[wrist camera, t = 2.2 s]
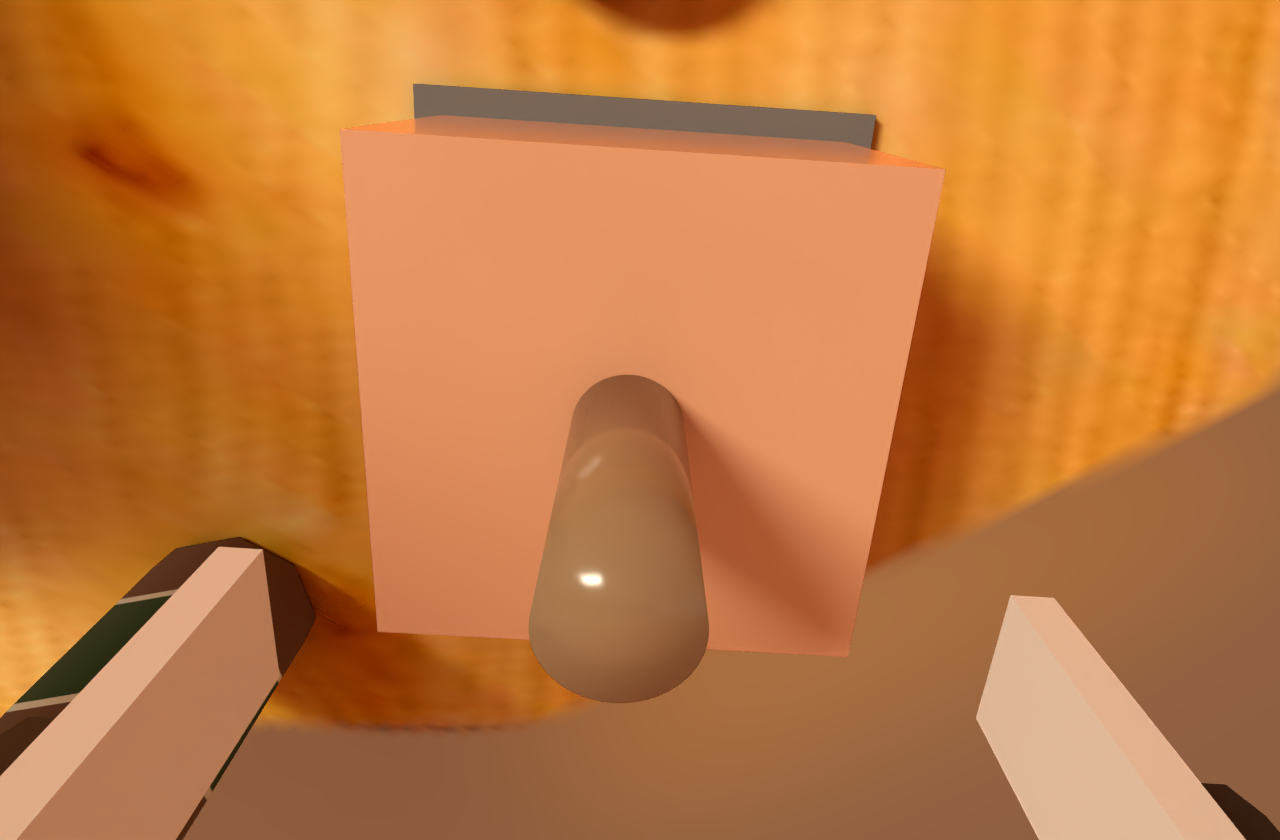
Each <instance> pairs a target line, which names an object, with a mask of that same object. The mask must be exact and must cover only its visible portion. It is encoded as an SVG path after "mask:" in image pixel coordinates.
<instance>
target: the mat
mask: <svg viewBox="0 0 1280 840" xmlns="http://www.w3.org/2000/svg"><path fill="white" fill-rule="evenodd" d="M413 92H414V116H415V119H416V118H423V117H430V116H437V115H450V116H465V117H480V118H495V119H510V120H525V121H540V122H555V123H570V124H584V125H599V126H614V127H629V128H644V129H659V130H674V131H689V132H703V133H718V134H733V135H748V136H763V137H778V138H793V139H808V140H823V141H837V142H847V143H850V144H854V145H858V146H861V147H865V148H869V149H871V144H872V138H873V132H874V126H875V119H876V115H868V114H854V113H839V112H824V111H810V110H795V109H780V108H765V107H751V106H736V105H721V104H707V103H692V102H677V101H662V100H648V99H633V98H618V97H604V96H589V95H574V94H559V93H545V92H530V91H515V90H501V89H486V88H471V87H456V86H442V85H427V84H413Z"/></svg>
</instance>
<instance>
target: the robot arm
mask: <svg viewBox="0 0 1280 840" xmlns="http://www.w3.org/2000/svg"><path fill="white" fill-rule="evenodd" d="M279 677H280V676H279V668H278V661H277V653H276V646H275V638H274V631H273V623H272V615H271V608H270V600H269V593H268V585H267V578H266V570H265V563H264V555H263V549H247V548H231V547H218V548H217V549H216V550H215V551H214V552H213V553H212V554H211V555H210V556H209V557H208V558H207V560H206V561H205V562H204V563H203V564H202V565H201V566H200V567H199V568H198V569H197V570H196V571H195V572H194V573H193V574H192V575H191V576H190V577H189V578H188V579H187V581H186V582H185V583H184V584H183V585H182V586H181V587H180V588H179V589H178V590H177V591H176V592H175V593H174V594H173V595H172V596H171V597H170V598H169V599H168V600H167V602H166V603H165V604H164V605H163V606H162V607H161V608H160V609H159V610H158V611H157V612H156V613H155V614H154V615H153V616H152V617H151V618H150V619H149V620H148V621H147V623H146V624H145V625H144V626H143V627H142V628H141V629H140V630H139V631H138V632H137V633H136V634H135V635H134V636H133V637H132V638H131V639H130V640H129V641H128V642H127V644H126V645H125V646H124V647H123V648H122V649H121V650H120V651H119V652H118V653H117V654H116V655H115V656H114V657H113V658H112V659H111V660H110V661H109V662H108V663H107V665H106V666H105V667H104V668H103V669H102V670H101V671H100V672H99V673H98V674H97V675H96V676H95V677H94V678H93V679H92V680H91V681H90V682H89V683H88V685H87V686H86V687H85V688H84V689H83V690H82V691H81V692H80V693H79V694H78V695H77V696H76V697H75V698H74V699H73V700H72V701H71V702H70V703H69V704H68V706H67V707H66V708H65V709H64V710H63V711H62V712H61V713H60V714H59V715H58V716H57V717H56V718H46V717H28V718H26V719H24V720H23V721H21V722H20V723H18V724H16V725H15V726H13V727H11V728H10V729H8V730H7V731H5V732H3V733H2V734H0V840H176V839H177V837H178V835H179V834H180V832H181V831H182V829H183V828H184V826H185V824H186V823H187V821H188V820H189V818H190V817H191V815H192V813H193V812H194V810H195V809H196V807H197V806H198V804H199V802H200V801H201V799H202V798H203V796H204V795H205V793H206V791H207V790H208V788H209V787H210V785H211V784H212V782H213V780H214V779H215V777H216V776H217V774H218V773H219V771H220V769H221V768H222V766H223V765H224V763H225V762H226V760H227V758H228V757H229V755H230V754H231V752H232V751H233V749H234V747H235V746H236V744H237V743H238V741H239V740H240V738H241V736H242V735H243V733H244V732H245V730H246V729H247V727H248V725H249V724H250V722H251V721H252V719H253V718H254V716H255V714H256V713H257V711H258V710H259V708H260V707H261V705H262V703H263V702H264V700H265V699H266V697H267V696H268V694H269V692H270V691H271V689H272V688H273V686H274V685H275V683H276V681H277V680H278V678H279ZM976 719H977V721H978V722H979V724H980V727H981V728H982V730H983V732H984V734H985V736H986V738H987V740H988V742H989V744H990V746H991V748H992V749H993V752H994V753H995V756H996V757H997V759H998V761H999V763H1000V765H1001V767H1002V769H1003V771H1004V773H1005V775H1006V777H1007V779H1008V780H1009V782H1010V785H1011V786H1012V788H1013V790H1014V792H1015V794H1016V796H1017V798H1018V800H1019V802H1020V803H1021V806H1022V808H1023V810H1024V812H1025V814H1026V815H1027V817H1028V819H1029V821H1030V823H1031V825H1032V827H1033V829H1034V831H1035V833H1036V835H1037V837H1038V839H1039V840H1280V832H1279V831H1278V830H1277V829H1276V827H1275V826H1274V825H1273V824H1272V823H1271V822H1270V820H1269V819H1268V818H1267V817H1266V816H1265V815H1264V814H1263V813H1261V812H1260V811H1259V810H1258V809H1256V808H1255V807H1254V806H1252V805H1251V804H1250V803H1248V802H1247V801H1246V800H1244V799H1243V798H1242V797H1241V796H1239V795H1238V794H1237V793H1235V792H1234V791H1233V790H1232V789H1230V788H1229V787H1228V786H1227V785H1223V784H1206V783H1200V782H1199V780H1198V779H1197V778H1196V777H1195V775H1194V774H1193V773H1192V771H1191V770H1190V769H1189V768H1188V766H1187V765H1186V764H1185V763H1184V761H1183V760H1182V759H1181V758H1180V756H1179V755H1178V754H1177V753H1176V751H1175V750H1174V749H1173V748H1172V746H1171V745H1170V744H1169V742H1168V741H1167V740H1166V739H1165V737H1164V736H1163V735H1162V734H1161V732H1160V731H1159V730H1158V729H1157V727H1156V726H1155V725H1154V723H1153V722H1152V721H1151V720H1150V718H1149V717H1148V716H1147V715H1146V713H1145V712H1144V711H1143V710H1142V708H1141V707H1140V706H1139V705H1138V703H1137V702H1136V701H1135V700H1134V698H1133V697H1132V696H1131V695H1130V693H1129V692H1128V691H1127V690H1126V688H1125V687H1124V686H1123V684H1122V683H1121V682H1120V681H1119V679H1118V678H1117V677H1116V676H1115V675H1114V673H1113V672H1112V671H1111V669H1110V668H1109V667H1108V666H1107V664H1106V663H1105V662H1104V661H1103V659H1102V658H1101V657H1100V656H1099V654H1098V653H1097V652H1096V650H1095V649H1094V648H1093V647H1092V645H1091V644H1090V643H1089V642H1088V640H1087V639H1086V638H1085V637H1084V636H1083V634H1082V633H1081V632H1080V630H1079V629H1078V628H1077V627H1076V625H1075V624H1074V623H1073V622H1072V620H1071V619H1070V618H1069V617H1068V615H1067V614H1066V613H1065V611H1064V610H1063V609H1062V608H1061V606H1060V605H1059V604H1058V603H1057V601H1056V600H1055V599H1054V598H1046V597H1029V596H1013V595H1011V596H1010V599H1009V603H1008V607H1007V610H1006V614H1005V618H1004V621H1003V624H1002V628H1001V631H1000V635H999V639H998V642H997V646H996V649H995V653H994V656H993V660H992V663H991V667H990V670H989V674H988V678H987V681H986V685H985V688H984V692H983V695H982V699H981V703H980V706H979V709H978V713H977V717H976Z"/></svg>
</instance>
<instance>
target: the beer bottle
mask: <svg viewBox="0 0 1280 840" xmlns="http://www.w3.org/2000/svg"><path fill="white" fill-rule="evenodd" d="M218 547H231V548H247V549H262V548H260V547H258V546H256V545H254V544H252V543H250V542H248V541H246V540H245V539H243V538H241V537H236V538H230V539H225V540H219V541H214V542H208V543H202V544H197V545H191V546H186V547H181V548H176V549H175V550H174V551H172V552H171V553H170V554H169V555H168V556H166V557H165V558H164V559H163V560H162V561H161V562H159V563H158V564H157V565H156V566H155V567H153V568H152V569H151V570H150V571H149V572H148V573H147V574H146V575H145V576H144V577H143V578H142V579H141V580H140V581H139V582H138V583H137V584H136V585H135V586H134V587H133V588H132V589H131V590H130V591H129V592H128V593H127V594H126V595H125V596H124V597H123V598H122V599H121V600H120V601H119V602H118V603H117V604H116V605H115V606H114V607H113V608H112V609H111V610H109V611H108V612H107V613H106V614H105V615H104V616H103V617H102V618H101V619H100V620H99V621H98V622H97V623H96V624H95V625H94V626H93V627H92V628H91V629H90V630H89V631H88V632H87V633H86V634H85V635H84V636H83V637H82V638H81V639H80V640H79V641H78V642H77V643H76V644H75V645H74V646H73V647H72V648H71V649H70V650H69V651H68V652H67V653H66V654H65V655H64V656H63V657H62V658H61V659H60V660H59V661H58V662H56V663H55V664H54V665H53V666H52V667H51V668H50V669H49V670H48V671H47V672H46V673H45V674H44V675H43V676H42V677H41V678H40V679H39V680H38V681H37V682H36V683H35V684H34V685H33V686H32V687H31V688H30V689H29V690H28V691H27V692H26V693H25V694H24V695H23V696H22V697H21V698H20V699H19V700H18V701H17V702H16V703H15V704H14V705H13V706H12V707H11V708H10V709H9V710H8V711H7V712H6V713H5V714H4V715H3V716H2V717H1V718H0V734H2V733H3V732H5V731H7V730H8V729H10V728H11V727H13V726H15V725H16V724H18V723H20V722H21V721H23V720H24V719H26V718H28V717H46V718H56V717H57V716H58V715H59V714H60V713H61V712H62V711H63V710H64V709H65V708H66V707H67V706H68V704H69V703H70V702H71V701H72V700H73V699H74V698H75V697H76V696H77V695H78V694H79V693H80V692H81V691H82V690H83V689H84V688H85V687H86V686H87V685H88V683H89V682H90V681H91V680H92V679H93V678H94V677H95V676H96V675H97V674H98V673H99V672H100V671H101V670H102V669H103V668H104V667H105V666H106V665H107V663H108V662H109V661H110V660H111V659H112V658H113V657H114V656H115V655H116V654H117V653H118V652H119V651H120V650H121V649H122V648H123V647H124V646H125V645H126V644H127V642H128V641H129V640H130V639H131V638H132V637H133V636H134V635H135V634H136V633H137V632H138V631H139V630H140V629H141V628H142V627H143V626H144V625H145V624H146V623H147V621H148V620H149V619H150V618H151V617H152V616H153V615H154V614H155V613H156V612H157V611H158V610H159V609H160V608H161V607H162V606H163V605H164V604H165V603H166V602H167V600H168V599H169V598H170V597H171V596H172V595H173V594H174V593H175V592H176V591H177V590H178V589H179V588H180V587H181V586H182V585H183V584H184V583H185V582H186V581H187V579H188V578H189V577H190V576H191V575H192V574H193V573H194V572H195V571H196V570H197V569H198V568H199V567H200V566H201V565H202V564H203V563H204V562H205V561H206V560H207V558H208V557H209V556H210V555H211V554H212V553H213V552H214V551H215V550H216V549H217V548H218ZM263 555H264V563H265V570H266V578H267V585H268V593H269V600H270V608H271V615H272V623H273V631H274V638H275V646H276V653H277V661H278V668H279V676H280V677H279V678H278V680H277V681H276V683H275V685H274V686H273V688H272V689H271V691H270V692H269V694H268V696H267V697H266V699H265V700H264V702H263V703H262V705H261V707H260V708H259V710H258V711H257V713H256V714H255V716H254V718H253V719H252V721H251V722H250V724H249V725H248V727H247V729H246V730H245V732H244V733H243V735H242V736H241V738H240V740H239V741H238V743H237V744H236V746H235V747H234V749H233V751H232V752H231V754H230V755H229V757H228V758H227V760H226V762H225V763H224V765H223V766H222V768H221V769H220V771H219V773H218V774H217V776H216V777H215V779H214V780H213V782H212V784H211V785H210V787H209V788H208V790H207V791H206V793H205V795H204V796H203V798H202V799H201V801H200V802H199V804H198V806H197V807H196V809H195V810H194V812H193V813H192V815H191V817H190V818H189V820H188V821H187V823H186V824H185V826H184V828H183V829H182V831H181V832H180V834H179V835H178V837H177V839H176V840H183V838H184V837H185V835H186V833H187V832H188V830H189V829H190V827H191V825H192V824H193V822H194V820H195V819H196V817H197V816H198V814H199V812H200V811H201V809H202V807H203V806H204V804H205V803H206V801H207V799H208V798H209V796H210V795H211V793H212V791H213V789H214V788H215V786H216V785H217V783H218V781H219V780H220V778H221V777H222V775H223V773H224V771H225V770H226V768H227V767H228V765H229V763H230V762H231V760H232V759H233V757H234V755H235V753H236V752H237V750H238V749H239V747H240V745H241V744H242V742H243V740H244V739H245V737H246V736H247V734H248V732H249V731H250V729H251V727H252V726H253V724H254V723H255V721H256V719H257V718H258V716H259V714H260V713H261V711H262V709H263V708H264V706H265V705H266V703H267V701H268V700H269V698H270V696H271V695H272V693H273V691H274V690H275V688H276V687H277V685H278V683H279V682H280V680H281V678H282V677H283V675H284V673H285V672H286V670H287V669H288V667H289V665H290V664H291V662H292V660H293V659H294V657H295V656H296V654H297V652H298V651H299V649H300V647H301V646H302V644H303V642H304V640H305V638H306V637H307V635H308V633H309V631H310V629H311V627H312V625H313V623H314V621H315V619H316V618H315V613H314V610H313V608H312V606H311V603H310V601H309V598H308V596H307V594H306V591H305V589H304V587H303V584H302V582H301V580H300V577H299V575H298V573H297V570H296V568H295V566H294V565H293V564H291V563H289V562H287V561H285V560H283V559H281V558H279V557H278V556H276V555H274V554H272V553H270V552H268V551H266V550H264V549H263Z"/></svg>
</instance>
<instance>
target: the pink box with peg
mask: <svg viewBox="0 0 1280 840" xmlns="http://www.w3.org/2000/svg"><path fill="white" fill-rule="evenodd" d="M340 138H341V152H342V165H343V178H344V192H345V205H346V218H347V232H348V245H349V258H350V272H351V285H352V298H353V312H354V325H355V338H356V352H357V365H358V378H359V392H360V405H361V418H362V432H363V445H364V458H365V472H366V485H367V498H368V511H369V525H370V538H371V551H372V565H373V578H374V591H375V605H376V618H377V631H378V632H391V633H410V634H428V635H447V636H466V637H485V638H503V639H522V640H530V643H531V647H532V649H533V652H534V654H535V656H536V658H537V660H538V662H539V663H540V665H541V666H542V667H543V669H544V670H545V671H546V672H547V673H548V674H549V675H550V676H551V677H552V678H553V679H554V680H555V681H556V682H558V683H559V684H560V685H561V686H563V687H565V688H566V689H568V690H570V691H571V692H574V693H576V694H578V695H580V696H583V697H586V698H589V699H592V700H597V701H602V702H610V703H629V702H638V701H642V700H647V699H650V698H654V697H656V696H659V695H661V694H663V693H666V692H668V691H670V690H671V689H673V688H675V687H676V686H678V685H679V684H680V683H682V682H683V681H684V680H685V679H686V678H688V677H689V676H690V674H692V672H693V671H694V670H695V669H696V667H697V666H698V665H699V663H700V661H701V659H702V657H703V656H704V653H705V650H706V649H709V650H727V651H747V652H765V653H766V652H767V653H784V654H802V655H821V656H840V657H848V655H849V650H850V645H851V640H852V635H853V630H854V625H855V620H856V615H857V610H858V605H859V600H860V595H861V590H862V585H863V580H864V575H865V570H866V565H867V560H868V555H869V550H870V545H871V540H872V535H873V530H874V525H875V520H876V515H877V510H878V505H879V500H880V495H881V490H882V485H883V480H884V475H885V470H886V465H887V460H888V455H889V450H890V445H891V440H892V435H893V430H894V425H895V420H896V415H897V410H898V405H899V400H900V395H901V390H902V385H903V380H904V375H905V370H906V365H907V360H908V355H909V350H910V345H911V340H912V335H913V330H914V325H915V320H916V315H917V310H918V305H919V300H920V295H921V290H922V285H923V280H924V275H925V270H926V265H927V260H928V255H929V250H930V245H931V240H932V235H933V230H934V225H935V220H936V215H937V210H938V205H939V200H940V195H941V190H942V185H943V180H944V175H945V170H946V169H942V168H939V167H935V166H931V165H928V164H924V163H920V162H917V161H913V160H909V159H906V158H902V157H898V156H895V155H891V154H887V153H883V152H880V151H876V150H872V149H869V148H865V147H861V146H858V145H854V144H850V143H847V142H837V141H823V140H808V139H793V138H778V137H763V136H748V135H733V134H718V133H703V132H689V131H674V130H659V129H644V128H629V127H614V126H599V125H584V124H570V123H555V122H540V121H525V120H510V119H495V118H480V117H465V116H450V115H437V116H430V117H423V118H416V119H409V120H401V121H394V122H387V123H380V124H373V125H365V126H358V127H351V128H344V129H340Z"/></svg>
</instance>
